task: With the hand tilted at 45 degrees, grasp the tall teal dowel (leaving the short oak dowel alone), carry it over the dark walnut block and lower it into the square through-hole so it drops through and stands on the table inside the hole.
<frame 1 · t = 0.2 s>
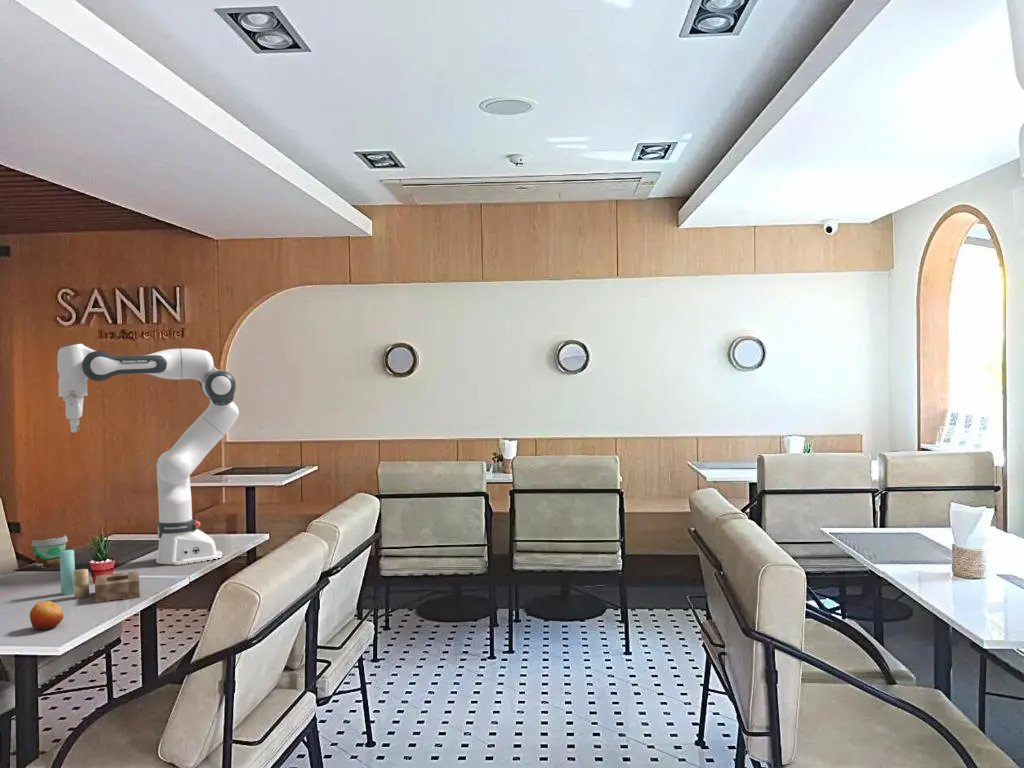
hand: (75, 431, 300), 48 cm above the table, tool pointing down, fingers open, 8 cm apart
food container: (54, 566, 311), on the table
short pin: (81, 596, 266), on the table
long pin: (68, 593, 271), on the table
hole block: (118, 594, 267), on the table
fruit: (47, 628, 234), on the table
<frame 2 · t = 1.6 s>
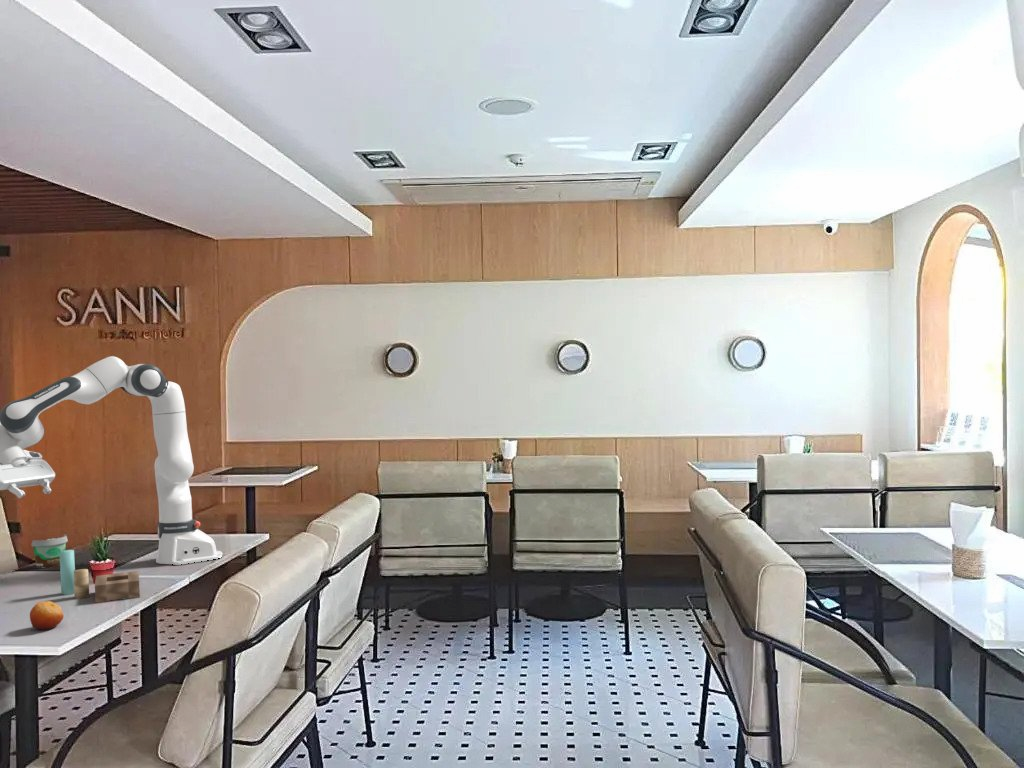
hand: (35, 494, 275), 30 cm above the table, tool tilted 45°, fingers open, 8 cm apart
nothing on the table moved.
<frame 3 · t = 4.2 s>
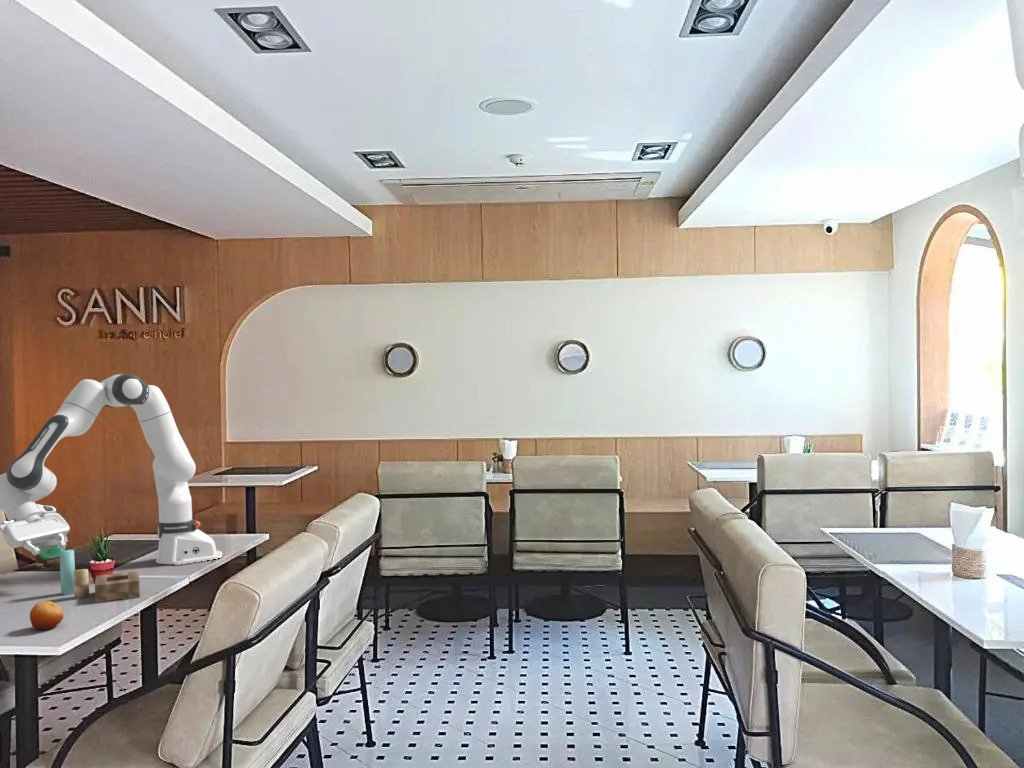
hand: (50, 550, 273), 13 cm above the table, tool tilted 45°, fingers open, 8 cm apart
nothing on the table moved.
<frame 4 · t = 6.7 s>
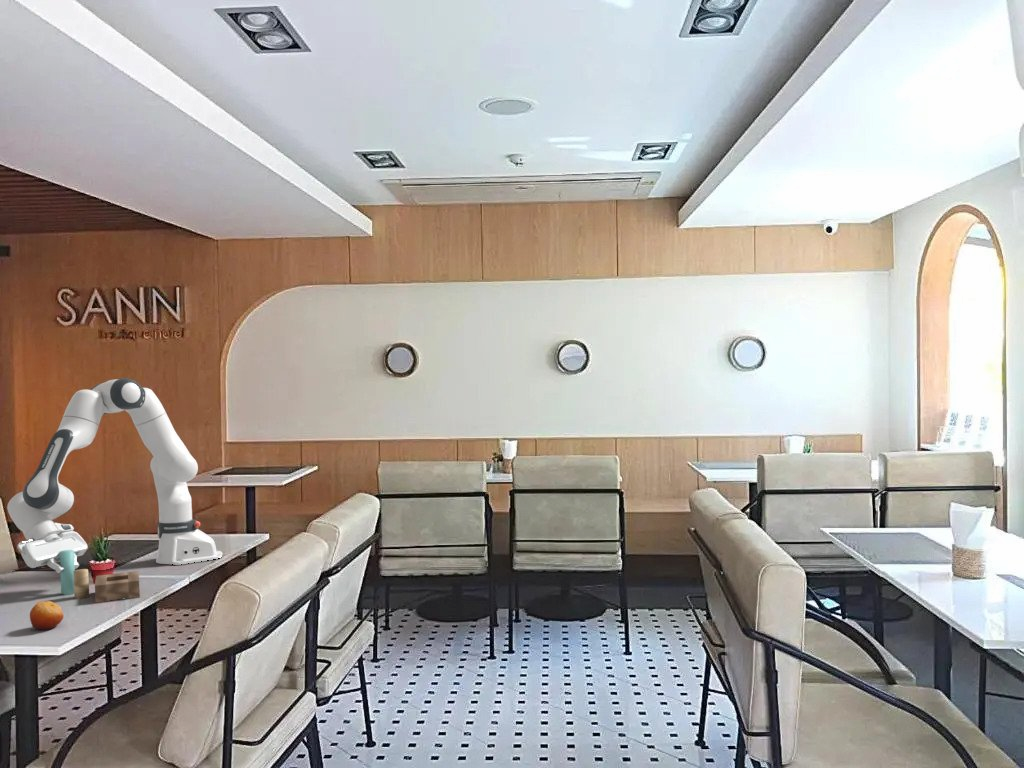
hand: (69, 569, 270), 7 cm above the table, tool tilted 45°, fingers closed on long pin, 4 cm apart
long pin: (68, 593, 271), on the table, touching gripper
everything else where it was.
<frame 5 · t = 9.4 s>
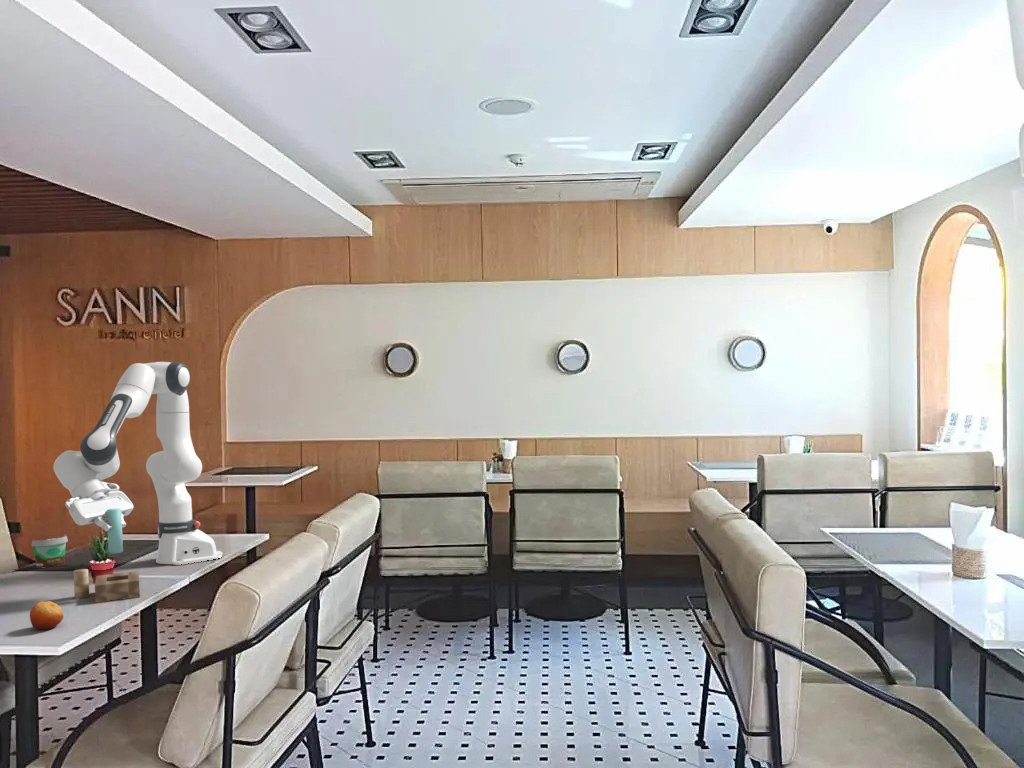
hand: (116, 528, 267), 20 cm above the table, tool tilted 45°, fingers closed on long pin, 4 cm apart
long pin: (115, 552, 267), point 13 cm above the table, touching gripper
everything else where it was.
when the fingers open (9 cm above the table, at t = 12.4 s): long pin drops 2 cm, resting in hole block.
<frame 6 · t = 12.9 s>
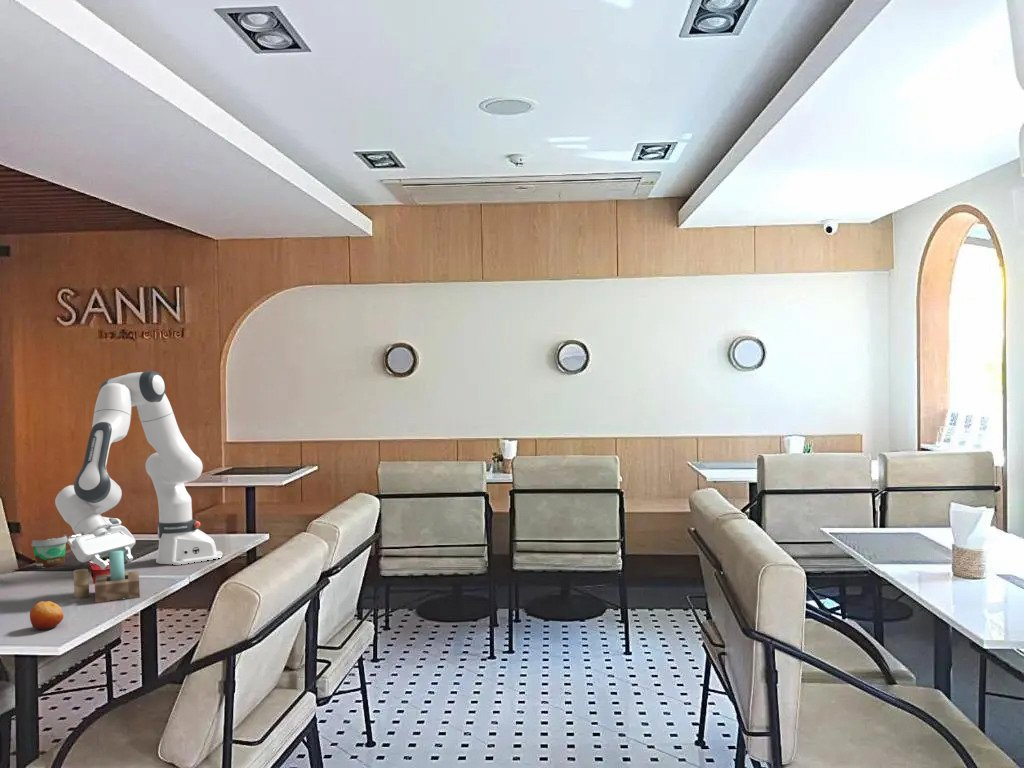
hand: (118, 564, 267), 9 cm above the table, tool tilted 45°, fingers open, 8 cm apart
long pin: (118, 594, 267), resting in hole block
everything else where it was.
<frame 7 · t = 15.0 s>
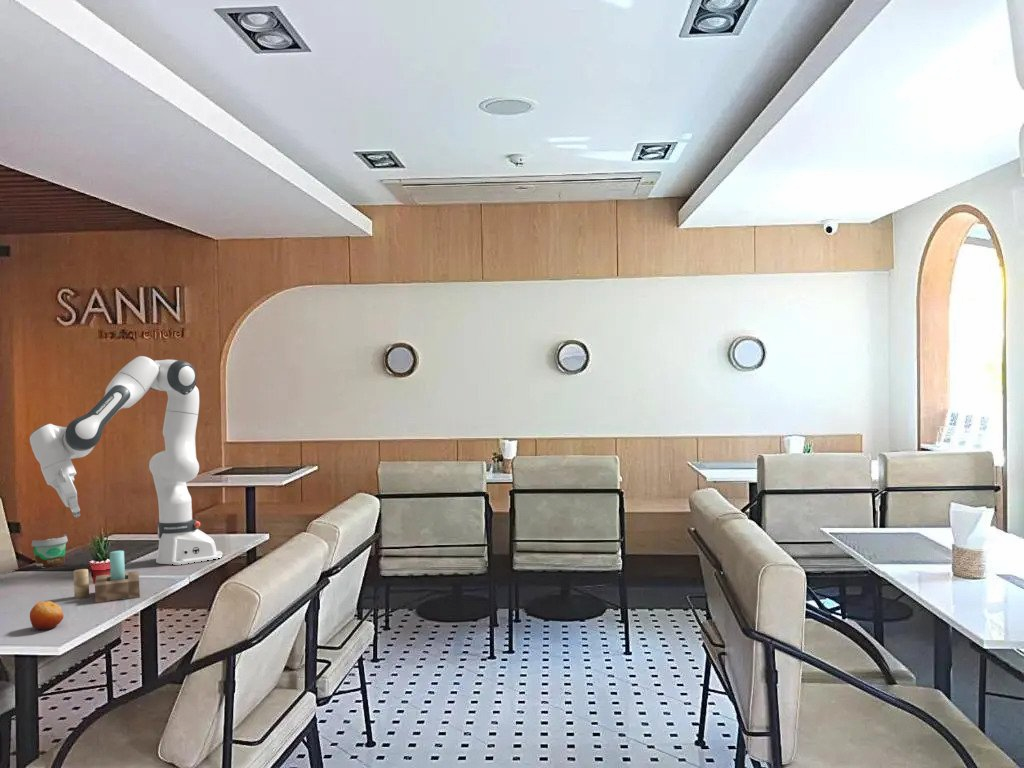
hand: (77, 514, 275), 24 cm above the table, tool tilted 25°, fingers open, 8 cm apart
nothing on the table moved.
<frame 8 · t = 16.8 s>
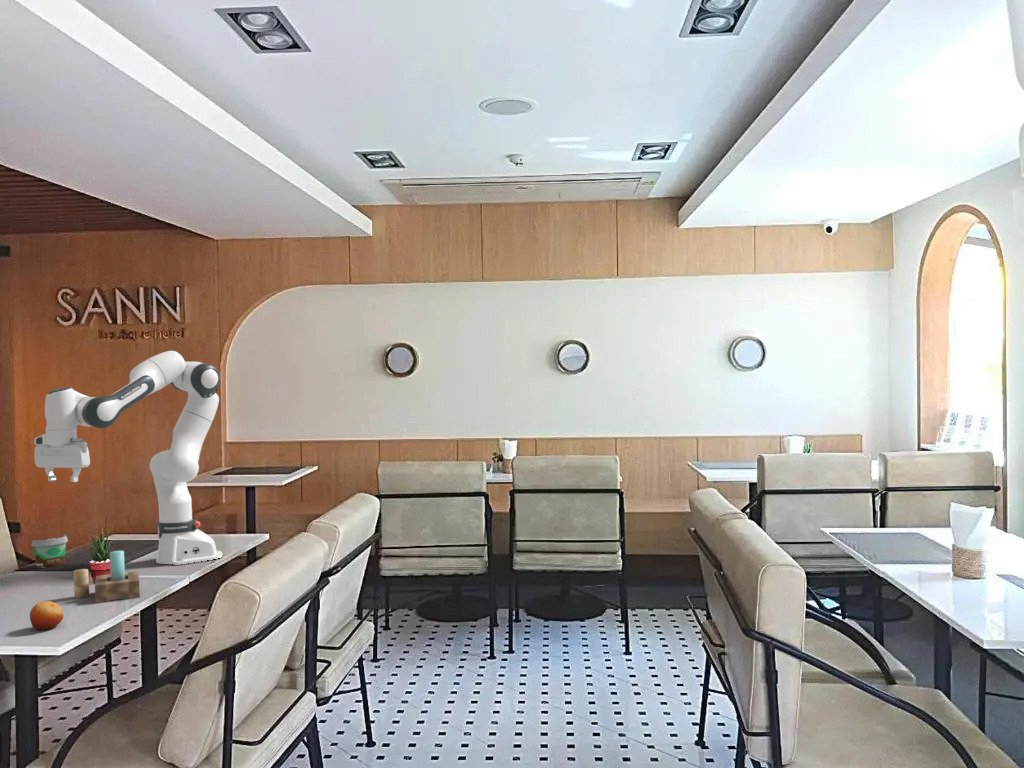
hand: (63, 481, 282), 33 cm above the table, tool pointing down, fingers open, 8 cm apart
nothing on the table moved.
at the end: long pin 0.1 cm off-centre on the hole block, point 0.0 cm above the hole block's base; long pin tilted 0°; the gripper is holding nothing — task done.
